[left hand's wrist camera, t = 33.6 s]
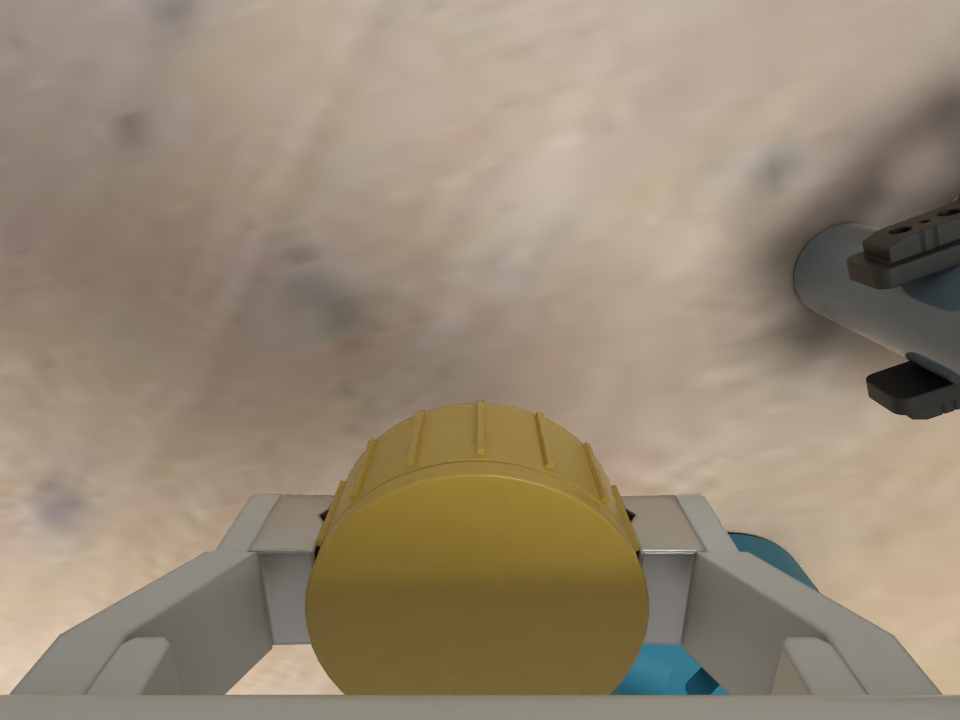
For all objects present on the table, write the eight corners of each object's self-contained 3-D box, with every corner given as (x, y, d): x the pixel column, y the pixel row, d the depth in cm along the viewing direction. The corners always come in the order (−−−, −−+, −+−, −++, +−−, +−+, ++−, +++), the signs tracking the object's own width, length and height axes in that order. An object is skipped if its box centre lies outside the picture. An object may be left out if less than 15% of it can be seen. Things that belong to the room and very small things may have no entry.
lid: (575, 654, 12) (595, 767, 10) (320, 611, 11) (284, 719, 9) (656, 431, 10) (703, 510, 8) (358, 371, 10) (324, 437, 7)
